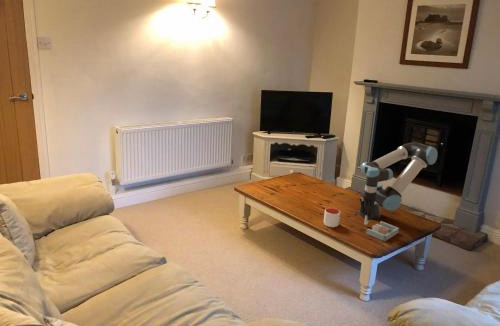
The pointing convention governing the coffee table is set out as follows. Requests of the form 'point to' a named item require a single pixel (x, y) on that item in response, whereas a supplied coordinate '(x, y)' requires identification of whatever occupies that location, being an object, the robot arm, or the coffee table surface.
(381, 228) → the tile front
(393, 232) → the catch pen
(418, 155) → the robot arm
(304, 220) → the coffee table surface
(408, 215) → the coffee table surface
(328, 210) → the cup
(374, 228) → the tile rear
